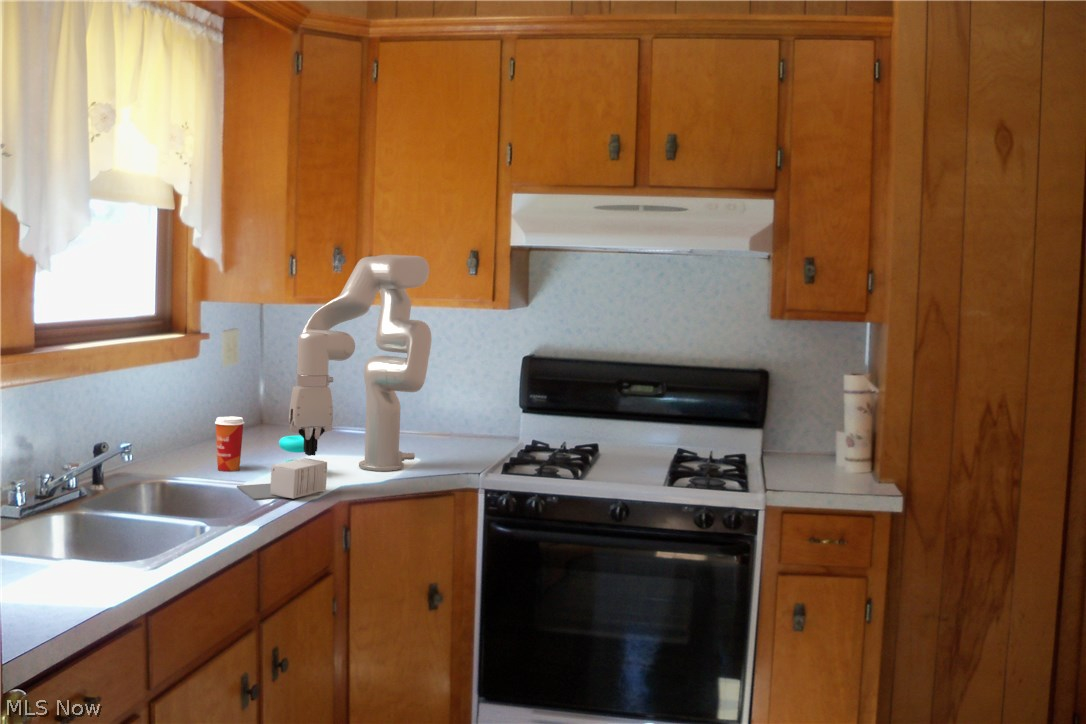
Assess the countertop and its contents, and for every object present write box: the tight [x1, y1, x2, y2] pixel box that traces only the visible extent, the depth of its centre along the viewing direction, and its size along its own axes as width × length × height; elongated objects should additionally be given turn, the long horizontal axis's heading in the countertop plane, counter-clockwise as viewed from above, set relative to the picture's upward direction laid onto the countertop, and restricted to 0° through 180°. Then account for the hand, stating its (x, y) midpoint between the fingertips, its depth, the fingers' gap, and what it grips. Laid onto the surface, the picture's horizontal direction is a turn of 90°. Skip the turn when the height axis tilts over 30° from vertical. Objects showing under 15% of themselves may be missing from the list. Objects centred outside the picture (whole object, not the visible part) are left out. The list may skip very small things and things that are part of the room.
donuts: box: [278, 434, 305, 463], centre depth 265 cm, size 10×10×10 cm
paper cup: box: [214, 415, 245, 472], centre depth 267 cm, size 8×8×14 cm
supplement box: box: [270, 457, 328, 500], centre depth 242 cm, size 7×7×13 cm
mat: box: [236, 482, 320, 501], centre depth 244 cm, size 16×15×1 cm
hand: (310, 454), depth 248 cm, fingers closed
